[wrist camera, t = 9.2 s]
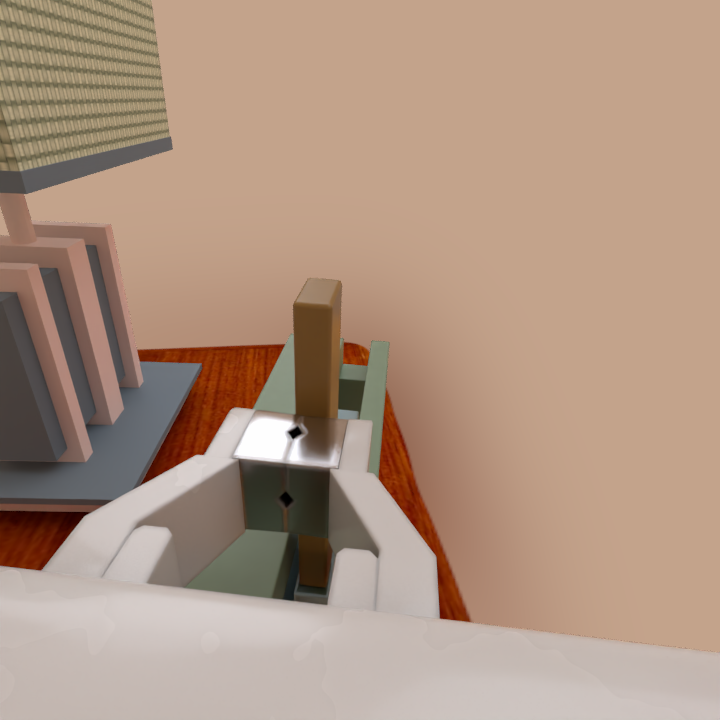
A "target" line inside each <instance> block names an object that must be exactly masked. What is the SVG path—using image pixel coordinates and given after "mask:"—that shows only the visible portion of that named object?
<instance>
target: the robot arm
mask: <svg viewBox="0 0 720 720" xmlns="http://www.w3.org/2000/svg"><path fill="white" fill-rule="evenodd" d="M372 427H373V422H372V420H358V419H349V420H347V419H336V418H325V417H314V416H303V415H298V414H290V413H281V412H273V411H264V410H255V409H246V408H236V407H235V408H233V409H231V410H230V411H229V413H228V415H227V417H226V418H225V420H224V422H223V423H222V425H221V427H220V428H219V430H218V432H217V434H216V435H215V437H214V439H213V440H212V442H211V444H210V446H209V447H208V449H207V451H206V452H205V454H204V455H196V456H194V457H192V458H190V459H188V460H186V461H185V462H183V463H181V464H179V465H177V466H175V467H174V468H172V469H170V470H168V471H166V472H164V473H163V474H161V475H159V476H157V477H155V478H153V479H152V480H150V481H148V482H146V483H144V484H142V485H141V486H139V487H137V488H135V489H133V490H131V491H130V492H128V493H126V494H124V495H122V496H120V497H119V498H117V499H115V500H113V501H111V502H109V503H108V504H106V505H104V506H102V507H100V508H99V509H97V510H95V511H93V512H91V513H89V514H88V515H86V516H84V517H83V519H82V520H81V521H80V522H79V524H78V525H77V526H76V527H75V529H74V530H73V531H72V533H71V534H70V535H69V536H68V538H67V539H66V540H65V541H64V543H63V544H62V545H61V547H60V548H59V549H58V550H57V552H56V553H55V554H54V555H53V557H52V558H51V559H50V560H49V562H48V563H47V564H46V566H45V567H44V568H43V569H42V571H39V570H31V569H22V568H14V567H6V566H0V720H720V652H713V651H705V650H697V649H687V648H680V647H671V646H663V645H655V644H647V643H638V642H630V641H622V640H613V639H605V638H597V637H588V636H580V635H572V634H563V633H555V632H547V631H538V630H529V629H522V628H513V627H504V626H496V625H488V624H480V623H471V622H463V621H455V620H446V619H440V616H439V598H438V580H437V563H436V556H435V554H434V553H433V552H432V550H431V549H430V548H429V546H428V545H427V544H426V542H425V541H424V540H423V538H422V537H421V536H420V534H419V533H418V532H417V530H416V529H415V528H414V526H413V525H412V524H411V522H410V521H409V520H408V518H407V517H406V516H405V514H404V513H403V511H402V510H401V509H400V507H399V506H398V505H397V503H396V502H395V501H394V499H393V498H392V497H391V495H390V494H389V493H388V491H387V490H386V489H385V487H384V486H383V485H382V483H381V482H380V481H379V479H378V478H377V477H376V475H375V474H374V473H369V464H370V452H371V439H372ZM245 529H248V530H260V531H272V532H284V533H292V534H299V535H306V536H314V537H321V538H328V541H329V543H330V546H331V548H332V550H333V552H334V555H335V557H336V560H335V565H334V571H333V576H332V582H331V587H330V593H329V598H328V604H327V605H322V604H314V603H306V602H298V601H289V600H281V599H273V598H264V597H256V596H248V595H239V594H231V593H223V592H214V591H206V590H198V589H189V588H184V587H185V586H186V585H188V584H189V583H190V582H191V581H192V580H193V579H194V578H195V577H196V576H197V575H199V574H200V573H201V572H202V571H203V570H204V569H205V568H206V567H207V566H208V565H209V564H211V563H212V562H213V561H214V560H215V559H216V558H217V557H218V556H219V555H220V554H222V553H223V552H224V551H225V550H226V549H227V548H228V547H229V546H230V545H231V544H232V543H234V542H235V541H236V540H237V539H238V538H239V537H240V536H241V535H242V534H243V533H245Z"/></svg>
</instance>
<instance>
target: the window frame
mask: <svg viewBox="0 0 720 720" xmlns="http://www.w3.org/2000/svg"><path fill="white" fill-rule="evenodd" d="M343 344H344V339H343V338H340V361H339V393H338V409H339V410H350V411H358V412H359V418H358V420H372V422H373V427H372V439H371V452H370V464H369V473H374V474H375V475H376V477H377V478H378V476H379V463H380V451H381V439H382V427H383V415H384V403H385V391H386V378H387V367H388V355H389V342H385V341H371V348H370V354H369V360H368V366H360V365H349V364H343ZM253 409H255V410H264V411H273V412H281V413H290V414H295V370H294V334H291V335H290V337H289V338H288V341H287V342H286V344H285V346H284V348H283V350H282V352H281V354H280V356H279V358H278V360H277V362H276V364H275V366H274V368H273V370H272V372H271V374H270V376H269V378H268V380H267V382H266V384H265V386H264V388H263V390H262V392H261V394H260V396H259V398H258V400H257V402H256V404H255V406H254V408H253ZM298 573H299V545H298V534H292V533H284V532H272V531H260V530H248V529H245V533H243V534H242V535H241V536H240V537H239V538H238V539H237V540H236V541H235V542H234V543H232V544H231V545H230V546H229V547H228V548H227V549H226V550H225V551H224V552H223V553H222V554H220V555H219V556H218V557H217V558H216V559H215V560H214V561H213V562H212V563H211V564H209V565H208V566H207V567H206V568H205V569H204V570H203V571H202V572H201V573H200V574H199V575H197V576H196V577H195V578H194V579H193V580H192V581H191V582H190V583H189V584H188V585H186V586H185V587H184V588H189V589H198V590H206V591H214V592H223V593H231V594H239V595H248V596H256V597H264V598H273V599H281V600H289V601H294V590H295V586H296V582H297V578H298Z"/></svg>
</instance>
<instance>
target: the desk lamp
mask: <svg viewBox="0 0 720 720" xmlns="http://www.w3.org/2000/svg"><path fill="white" fill-rule="evenodd" d="M172 149H173V148H172V140H171V137H170V135H169V128H168V121H167V113H166V105H165V98H164V90H163V83H162V76H161V68H160V61H159V53H158V47H157V39H156V31H155V24H154V16H153V10H152V1H151V0H0V206H1V210H2V213H3V216H4V219H5V223H6V225H7V229H8V232H9V235H10V236H2V235H1V236H0V511H57V512H93V511H95V510H97V509H99V508H100V507H102V506H104V505H106V504H108V503H109V502H111V501H113V500H115V499H117V498H119V497H120V496H122V495H124V494H126V493H128V492H130V491H131V490H133V489H135V488H137V487H139V486H140V484H141V483H142V481H143V479H144V477H145V475H146V473H147V471H148V469H149V468H150V466H151V464H152V462H153V460H154V458H155V456H156V454H157V453H158V451H159V449H160V447H161V445H162V443H163V441H164V439H165V438H166V436H167V434H168V432H169V430H170V428H171V426H172V424H173V423H174V421H175V419H176V417H177V415H178V413H179V411H180V410H181V408H182V406H183V404H184V402H185V400H186V398H187V396H188V395H189V392H190V390H191V388H192V386H193V385H194V383H195V381H196V379H197V377H198V375H199V373H200V372H201V370H202V364H195V363H162V362H139V357H138V352H137V348H136V343H135V338H134V333H133V328H132V323H131V319H130V314H129V309H128V304H127V299H126V294H125V290H124V285H123V280H122V275H121V271H120V266H119V261H118V256H117V251H116V247H115V242H114V237H113V232H112V227H111V224H97V223H73V222H50V221H31V217H30V214H29V210H28V207H27V203H26V200H25V196H24V194H28V193H31V192H34V191H38V190H41V189H44V188H48V187H51V186H54V185H58V184H61V183H64V182H67V181H70V180H74V179H77V178H80V177H84V176H87V175H90V174H94V173H97V172H100V171H103V170H106V169H110V168H113V167H116V166H120V165H123V164H126V163H130V162H133V161H136V160H139V159H143V158H146V157H149V156H152V155H155V154H159V153H162V152H165V151H169V150H172Z"/></svg>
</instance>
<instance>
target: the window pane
mask: <svg viewBox="0 0 720 720" xmlns="http://www.w3.org/2000/svg"><path fill="white" fill-rule="evenodd" d="M341 293H342V284H341V281H339V280H332V279H318V278H309V279H307V281H306V283H305V285H304V286H303V288H302V290H301V292H300V293H299V295H298V297H297V299H296V301H295V302H294V304H293V323H294V324H293V327H294V370H295V414H298V415H303V416H314V417H325V418H336V419H347V420H349V419H358V418H359V412H358V411H350V410H339V409H338V393H339V361H340V329H341V296H342V294H341ZM298 545H299V573H298V578H297V582H296V586H295V590H294V601H298V602H306V603H314V604H322V605H327V604H328V598H329V593H330V587H331V582H332V576H333V571H334V565H335V560H336V557H335V555H334V552H333V550H332V548H331V546H330V543H329V541H328V538H321V537H314V536H306V535H299V534H298Z"/></svg>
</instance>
